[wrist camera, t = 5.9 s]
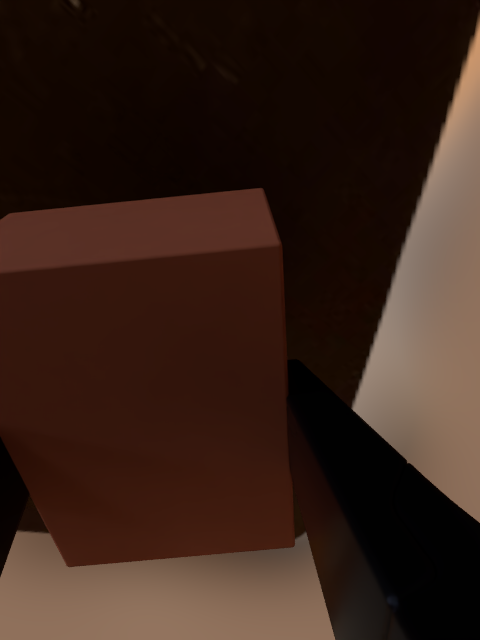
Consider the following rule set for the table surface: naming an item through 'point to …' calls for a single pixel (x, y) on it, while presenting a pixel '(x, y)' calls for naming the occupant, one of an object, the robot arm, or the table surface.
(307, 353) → the table surface
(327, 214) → the table surface
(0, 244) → the reddish brown rectangular block
